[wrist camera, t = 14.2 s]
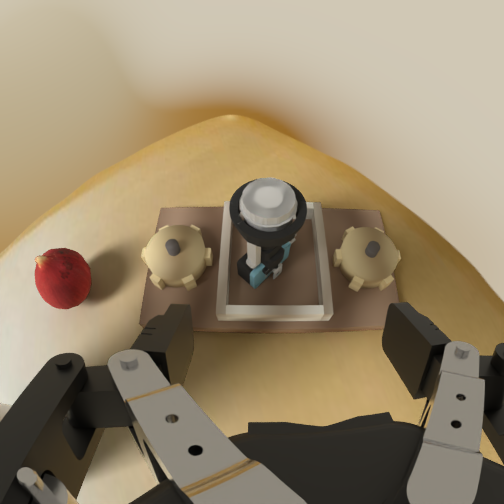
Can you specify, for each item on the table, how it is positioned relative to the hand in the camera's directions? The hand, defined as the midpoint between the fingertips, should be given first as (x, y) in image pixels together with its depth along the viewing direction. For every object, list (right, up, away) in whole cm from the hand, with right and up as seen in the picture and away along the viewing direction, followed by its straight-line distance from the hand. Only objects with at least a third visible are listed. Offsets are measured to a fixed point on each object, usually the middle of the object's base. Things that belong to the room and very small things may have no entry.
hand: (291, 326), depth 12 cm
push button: (0, +2, +17) cm, 18 cm away
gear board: (0, +1, +18) cm, 18 cm away
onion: (-20, -2, +17) cm, 26 cm away
